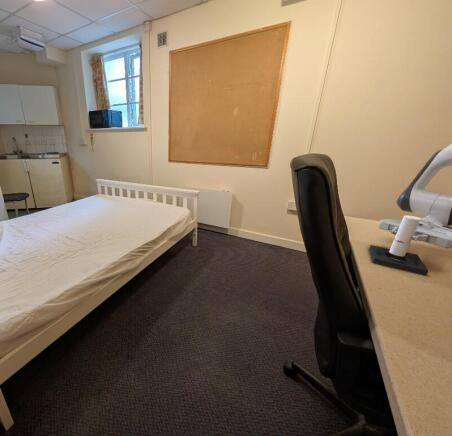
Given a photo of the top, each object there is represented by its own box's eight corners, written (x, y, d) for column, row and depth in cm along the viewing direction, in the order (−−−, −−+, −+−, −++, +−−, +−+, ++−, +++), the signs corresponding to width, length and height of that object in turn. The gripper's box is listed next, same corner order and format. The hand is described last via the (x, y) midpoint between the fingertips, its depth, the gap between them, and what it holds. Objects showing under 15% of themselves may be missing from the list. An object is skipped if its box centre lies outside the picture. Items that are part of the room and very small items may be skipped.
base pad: (415, 258, 87) (417, 254, 87) (426, 275, 77) (428, 270, 76) (368, 248, 95) (370, 244, 95) (372, 262, 85) (374, 258, 84)
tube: (399, 251, 87) (415, 216, 81) (407, 256, 83) (424, 220, 77) (386, 250, 88) (400, 215, 82) (393, 255, 84) (409, 218, 78)
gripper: (391, 213, 95) (372, 218, 90) (466, 231, 77) (448, 238, 72) (386, 227, 97) (367, 232, 92) (457, 247, 79) (439, 255, 74)
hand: (403, 235), depth 82 cm, fingers closed on tube, 4 cm apart
